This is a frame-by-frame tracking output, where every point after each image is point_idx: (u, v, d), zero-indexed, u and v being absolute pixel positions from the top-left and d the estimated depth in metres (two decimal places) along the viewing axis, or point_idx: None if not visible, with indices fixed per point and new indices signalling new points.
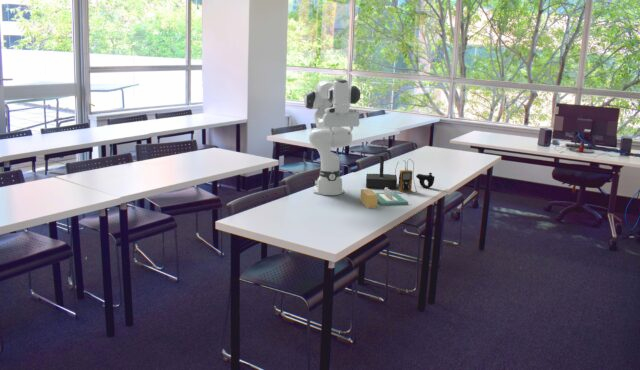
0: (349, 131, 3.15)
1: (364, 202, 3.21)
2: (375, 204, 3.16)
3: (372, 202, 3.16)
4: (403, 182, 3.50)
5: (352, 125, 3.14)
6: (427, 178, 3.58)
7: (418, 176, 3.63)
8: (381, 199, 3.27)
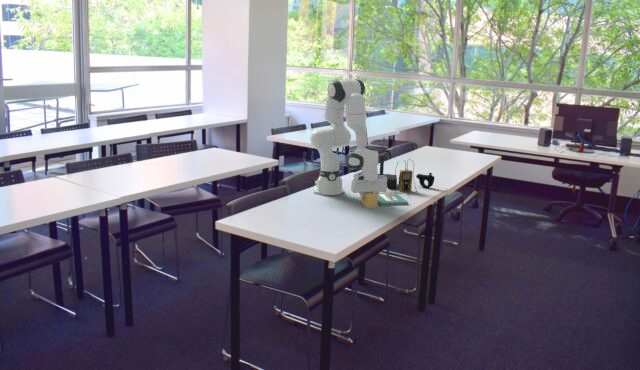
0: None
1: (364, 202, 3.21)
2: (375, 204, 3.16)
3: (372, 202, 3.16)
4: (403, 182, 3.50)
5: (380, 191, 3.21)
6: (427, 178, 3.58)
7: (418, 176, 3.63)
8: (381, 199, 3.27)
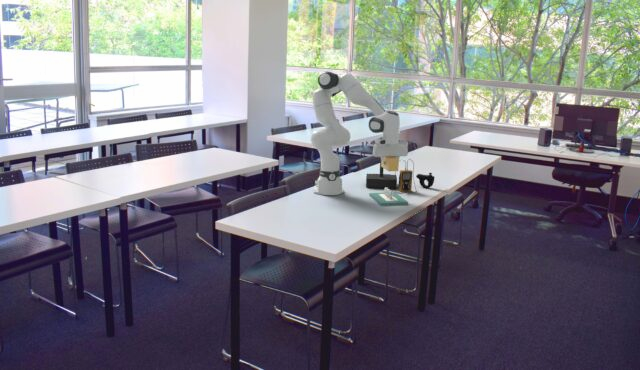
0: None
1: (385, 166, 3.26)
2: (396, 168, 3.21)
3: (393, 166, 3.21)
4: (403, 182, 3.50)
5: (401, 155, 3.26)
6: (427, 178, 3.58)
7: (418, 176, 3.63)
8: (381, 199, 3.27)
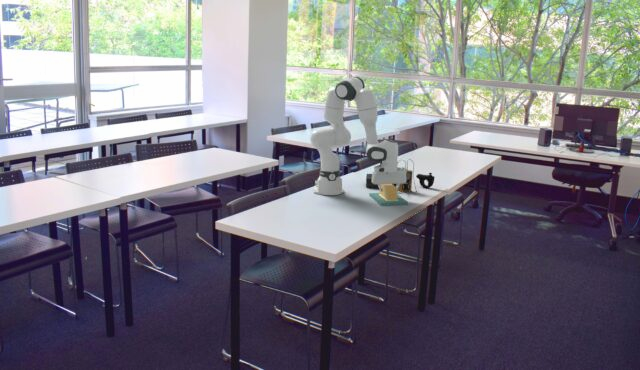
0: None
1: (384, 195, 3.30)
2: (395, 197, 3.26)
3: (392, 195, 3.25)
4: None
5: (399, 182, 3.30)
6: (427, 178, 3.58)
7: (418, 176, 3.63)
8: (381, 199, 3.27)
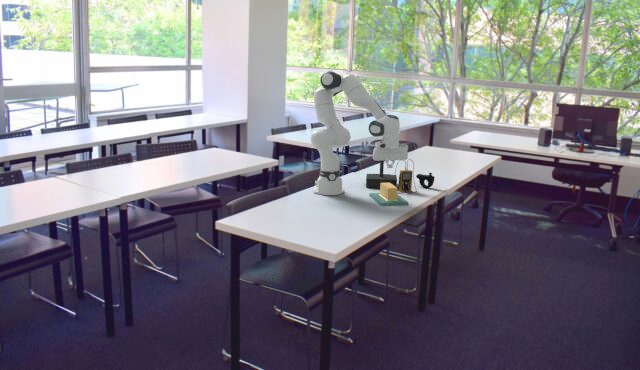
0: (391, 164, 3.28)
1: (384, 195, 3.30)
2: (395, 197, 3.26)
3: (392, 195, 3.25)
4: (403, 182, 3.50)
5: (401, 159, 3.26)
6: (427, 178, 3.58)
7: (418, 176, 3.63)
8: (381, 199, 3.27)
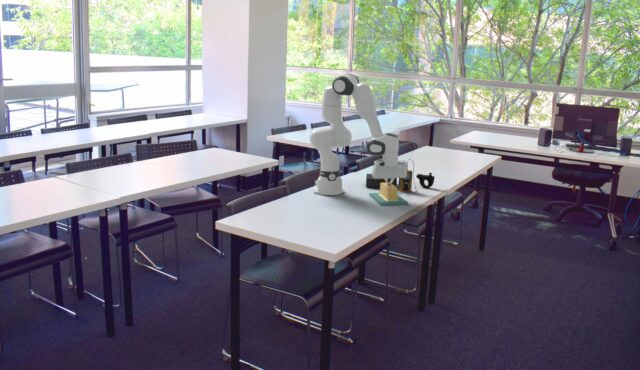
0: (390, 182, 3.30)
1: (384, 195, 3.30)
2: (395, 197, 3.26)
3: (392, 195, 3.25)
4: (403, 182, 3.50)
5: (400, 176, 3.29)
6: (427, 178, 3.58)
7: (418, 176, 3.63)
8: (381, 199, 3.27)
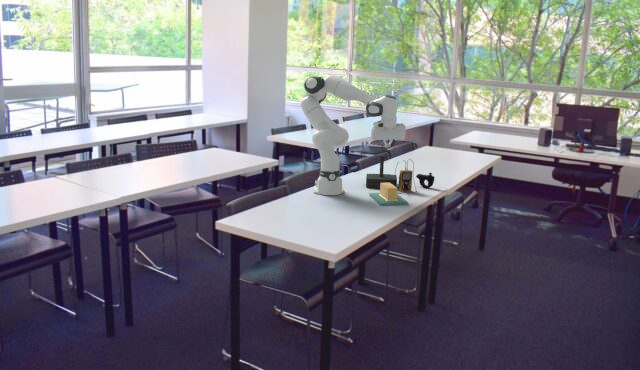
0: (389, 143, 3.36)
1: (384, 195, 3.30)
2: (395, 197, 3.26)
3: (392, 195, 3.25)
4: (403, 182, 3.50)
5: (398, 138, 3.35)
6: (427, 178, 3.58)
7: (418, 176, 3.63)
8: (381, 199, 3.27)
